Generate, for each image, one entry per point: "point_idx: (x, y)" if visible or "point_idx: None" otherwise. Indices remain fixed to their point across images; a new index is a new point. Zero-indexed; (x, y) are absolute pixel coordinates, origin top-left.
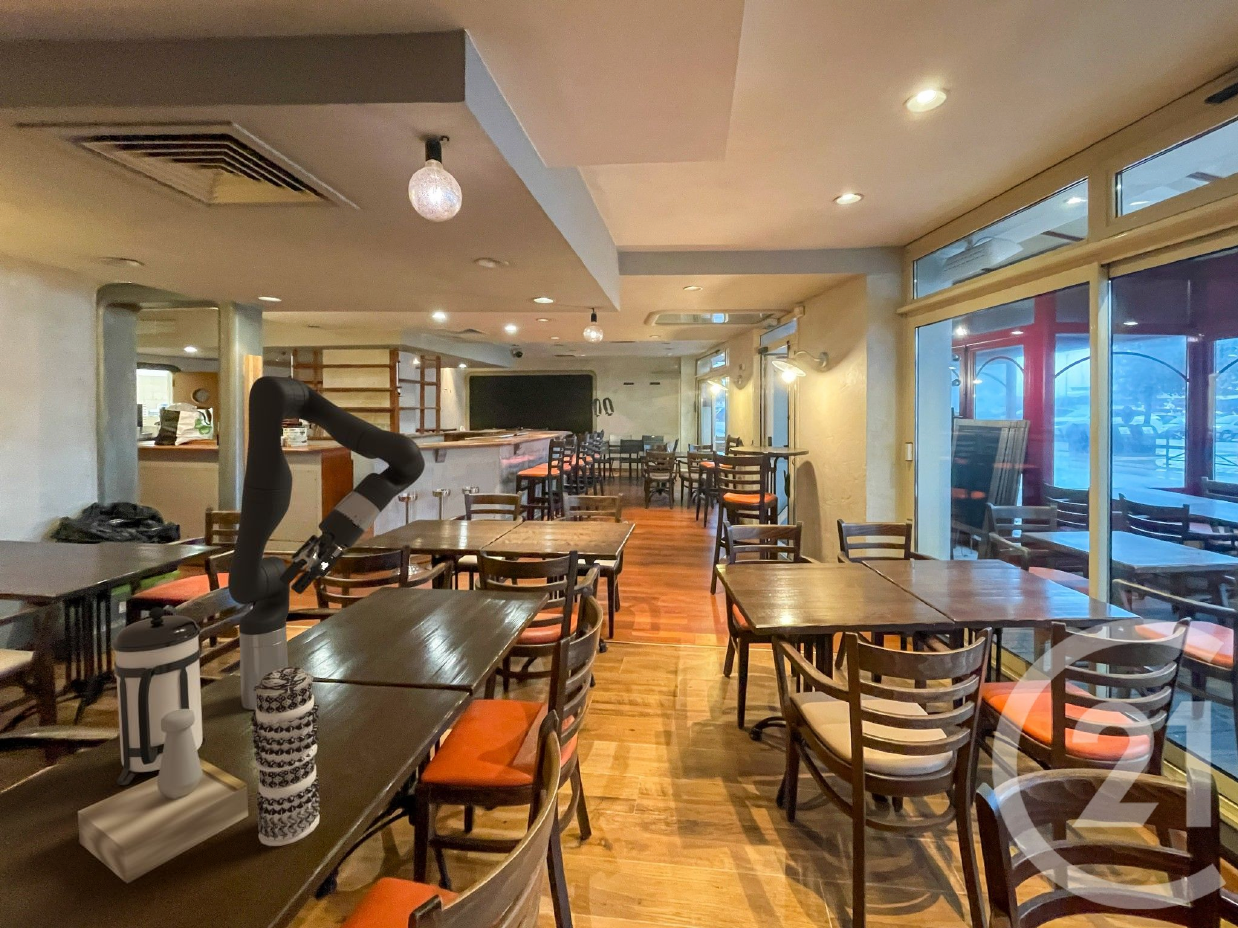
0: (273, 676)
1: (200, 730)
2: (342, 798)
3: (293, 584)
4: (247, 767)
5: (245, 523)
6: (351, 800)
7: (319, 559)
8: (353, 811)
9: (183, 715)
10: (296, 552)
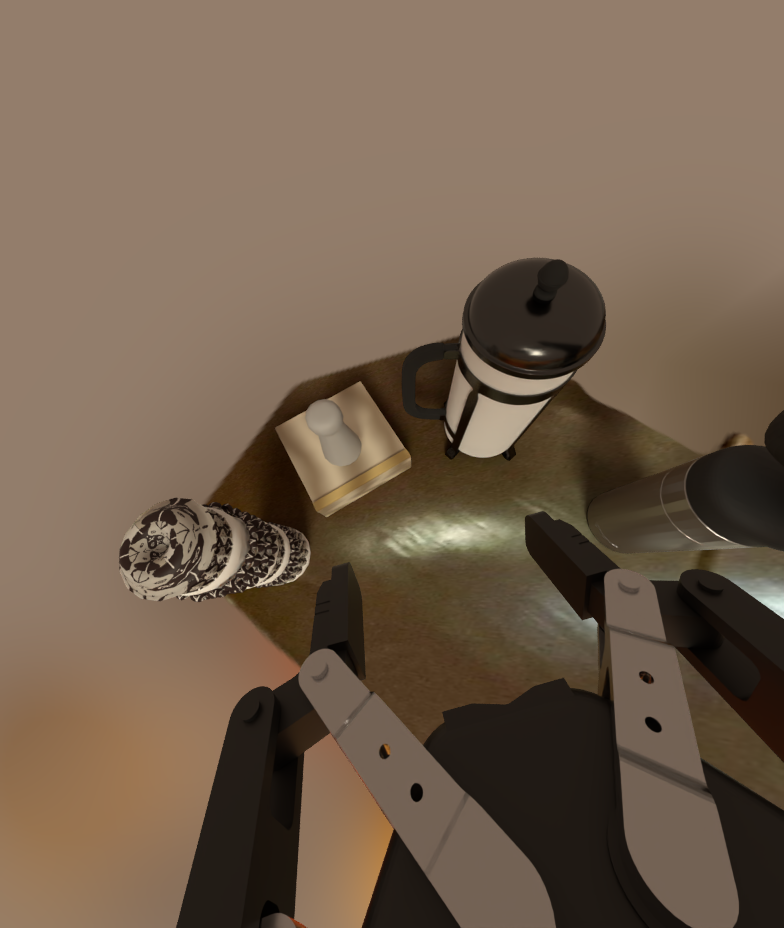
0: (157, 527)
1: (481, 451)
2: (301, 610)
3: (337, 573)
4: (425, 510)
5: None
6: (292, 620)
7: (261, 785)
8: (270, 619)
9: (310, 420)
10: (751, 607)
